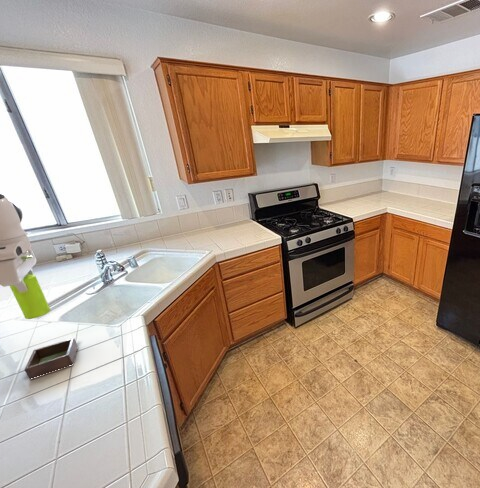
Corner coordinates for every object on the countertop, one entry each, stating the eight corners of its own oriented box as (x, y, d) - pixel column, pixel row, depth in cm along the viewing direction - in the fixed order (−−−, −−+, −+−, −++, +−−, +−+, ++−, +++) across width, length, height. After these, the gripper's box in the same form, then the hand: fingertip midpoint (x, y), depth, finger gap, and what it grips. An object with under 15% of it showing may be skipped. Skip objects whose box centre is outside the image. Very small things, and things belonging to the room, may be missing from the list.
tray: (30, 380, 85) (24, 369, 83) (38, 360, 93) (33, 349, 91) (73, 365, 90) (68, 355, 89) (78, 347, 99) (74, 337, 97)
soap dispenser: (55, 311, 88) (31, 257, 81) (25, 321, 83) (-3, 264, 76) (53, 305, 92) (30, 252, 85) (24, 314, 87) (-2, 259, 80)
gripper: (5, 239, 85) (23, 277, 90) (-22, 259, 70) (1, 304, 74) (33, 235, 89) (48, 272, 94) (12, 254, 73) (32, 297, 78)
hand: (27, 286), depth 84 cm, fingers closed on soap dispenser, 6 cm apart
